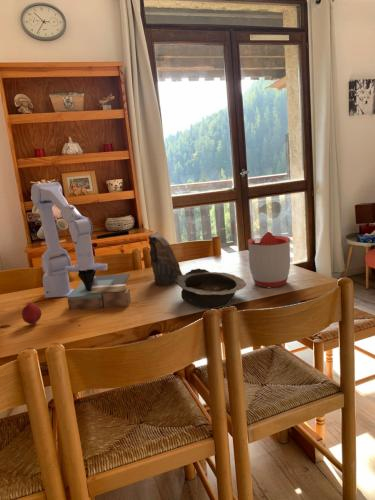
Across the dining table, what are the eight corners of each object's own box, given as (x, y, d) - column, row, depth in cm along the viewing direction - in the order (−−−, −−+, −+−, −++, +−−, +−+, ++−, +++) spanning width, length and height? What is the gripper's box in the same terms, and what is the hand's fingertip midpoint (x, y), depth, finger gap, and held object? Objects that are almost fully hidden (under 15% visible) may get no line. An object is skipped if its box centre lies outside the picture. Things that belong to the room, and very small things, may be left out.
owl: (161, 288, 154) (156, 238, 150) (142, 282, 163) (136, 235, 159) (184, 280, 162) (180, 232, 158) (165, 275, 171) (160, 230, 167)
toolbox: (69, 310, 138) (67, 297, 137) (85, 293, 155) (83, 281, 154) (128, 307, 136) (126, 293, 135) (137, 290, 154) (136, 278, 153)
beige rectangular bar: (91, 293, 138) (91, 287, 138) (93, 291, 140) (92, 286, 140) (125, 291, 137) (124, 285, 137) (126, 289, 139) (126, 284, 139)
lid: (67, 299, 137) (65, 286, 136) (83, 283, 155) (81, 271, 153) (101, 297, 136) (99, 284, 135) (113, 281, 154) (112, 269, 153)
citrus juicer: (271, 273, 161) (269, 225, 157) (300, 284, 146) (299, 231, 141) (239, 281, 155) (236, 231, 150) (265, 293, 139) (263, 237, 135)
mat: (83, 291, 158) (83, 290, 158) (97, 276, 178) (97, 275, 178) (120, 288, 157) (120, 288, 157) (130, 274, 177) (130, 273, 177)
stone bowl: (164, 296, 143) (163, 272, 142) (224, 288, 153) (224, 265, 151) (191, 318, 121) (191, 289, 119) (260, 306, 131) (261, 279, 129)
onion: (31, 329, 124) (27, 305, 122) (20, 326, 127) (15, 303, 125) (46, 322, 129) (42, 299, 127) (35, 319, 132) (31, 297, 130)
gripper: (59, 257, 133) (65, 295, 136) (101, 254, 132) (106, 293, 135) (67, 252, 139) (72, 288, 142) (107, 249, 138) (111, 286, 141)
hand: (89, 290), depth 139 cm, fingers closed
